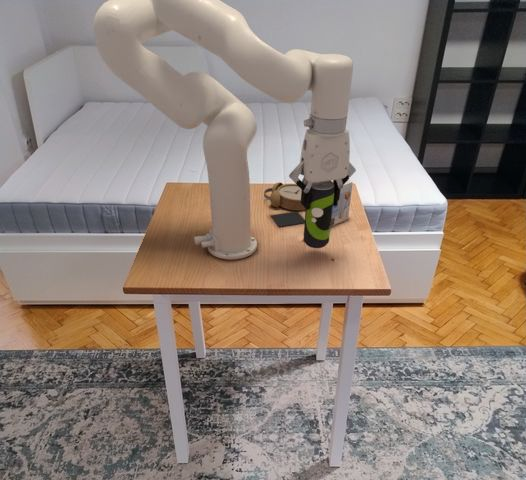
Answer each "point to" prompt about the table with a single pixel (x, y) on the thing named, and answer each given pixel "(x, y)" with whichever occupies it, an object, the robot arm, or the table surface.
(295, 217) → the mat
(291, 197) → the alarm clock
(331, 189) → the beverage can
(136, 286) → the table surface
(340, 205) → the light bulb box
